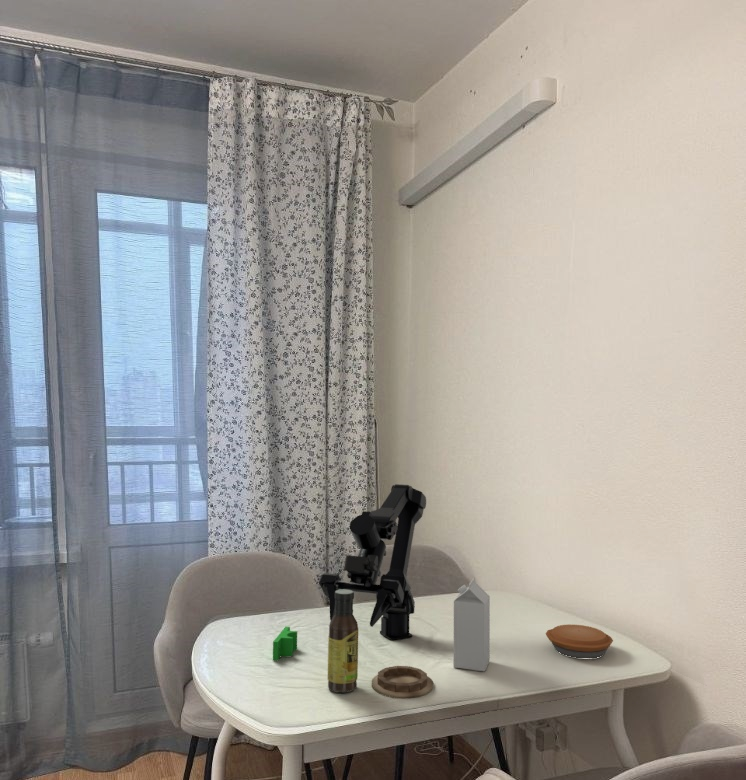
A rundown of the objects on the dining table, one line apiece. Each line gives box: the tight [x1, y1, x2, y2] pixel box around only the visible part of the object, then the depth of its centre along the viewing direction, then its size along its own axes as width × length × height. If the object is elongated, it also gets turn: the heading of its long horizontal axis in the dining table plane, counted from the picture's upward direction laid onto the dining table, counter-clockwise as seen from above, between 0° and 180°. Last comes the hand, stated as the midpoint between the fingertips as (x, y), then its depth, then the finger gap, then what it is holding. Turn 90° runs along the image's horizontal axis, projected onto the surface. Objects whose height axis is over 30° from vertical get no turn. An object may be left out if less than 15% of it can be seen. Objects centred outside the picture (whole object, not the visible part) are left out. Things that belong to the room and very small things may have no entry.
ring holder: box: [371, 665, 434, 699], centre depth 138 cm, size 13×13×2 cm
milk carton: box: [452, 577, 491, 672], centre depth 150 cm, size 7×7×19 cm
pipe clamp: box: [272, 626, 298, 661], centre depth 156 cm, size 11×4×5 cm, turn 173°
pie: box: [545, 624, 614, 659], centre depth 159 cm, size 16×16×5 cm
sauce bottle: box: [327, 589, 359, 694], centre depth 136 cm, size 6×6×20 cm
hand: (350, 623), depth 140 cm, fingers open, 9 cm apart
